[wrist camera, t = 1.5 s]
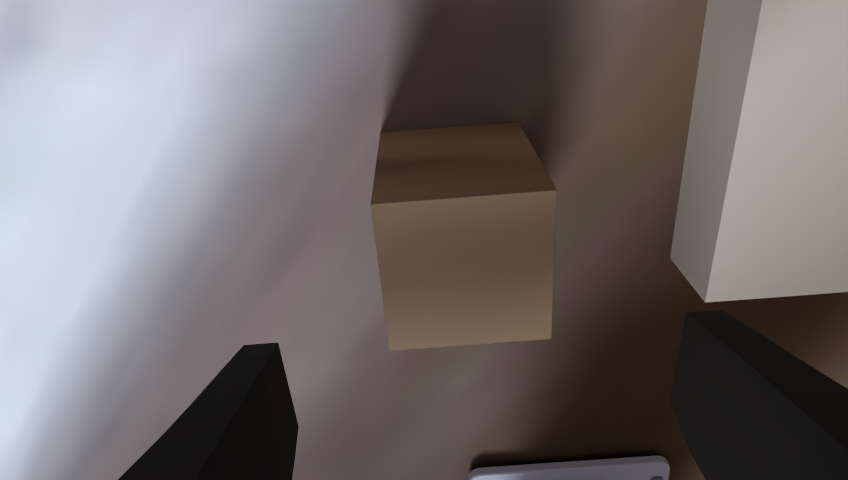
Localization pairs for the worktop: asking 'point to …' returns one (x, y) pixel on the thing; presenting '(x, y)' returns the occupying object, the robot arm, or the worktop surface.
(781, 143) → the riser
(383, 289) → the block
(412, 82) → the worktop surface
